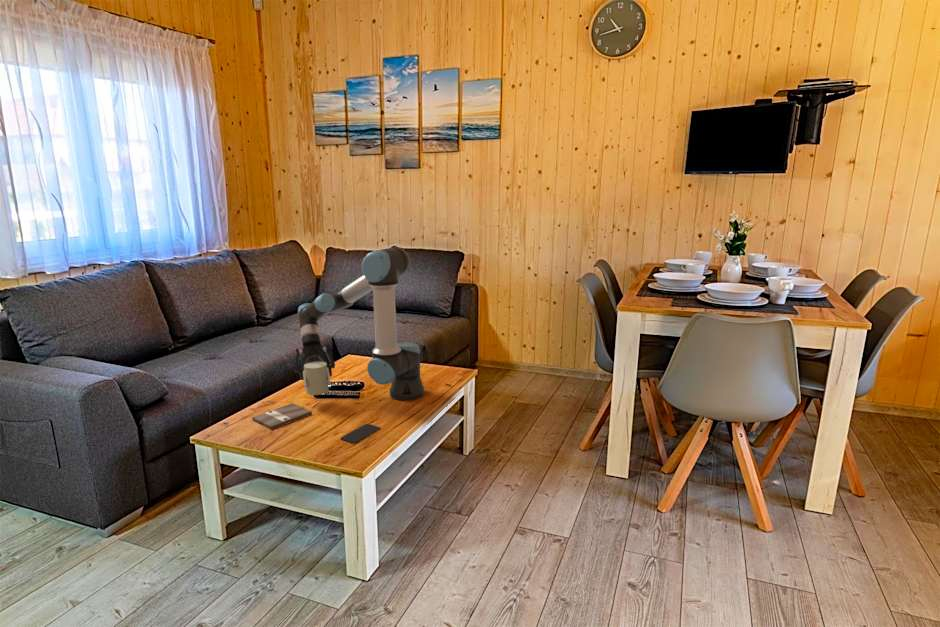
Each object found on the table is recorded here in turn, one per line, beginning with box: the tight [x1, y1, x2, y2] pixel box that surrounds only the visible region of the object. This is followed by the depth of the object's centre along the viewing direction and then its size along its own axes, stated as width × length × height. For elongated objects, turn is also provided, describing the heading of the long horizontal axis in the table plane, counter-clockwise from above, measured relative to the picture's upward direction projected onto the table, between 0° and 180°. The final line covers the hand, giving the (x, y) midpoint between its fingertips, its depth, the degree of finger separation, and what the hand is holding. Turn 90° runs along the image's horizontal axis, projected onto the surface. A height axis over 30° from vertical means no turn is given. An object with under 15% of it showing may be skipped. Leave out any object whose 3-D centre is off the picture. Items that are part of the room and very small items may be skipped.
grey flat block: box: [251, 402, 313, 430], centre depth 219 cm, size 13×18×2 cm
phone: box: [340, 423, 381, 444], centre depth 205 cm, size 7×1×15 cm
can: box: [303, 360, 330, 396], centre depth 229 cm, size 9×9×12 cm
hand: (317, 384), depth 227 cm, fingers closed on can, 9 cm apart
